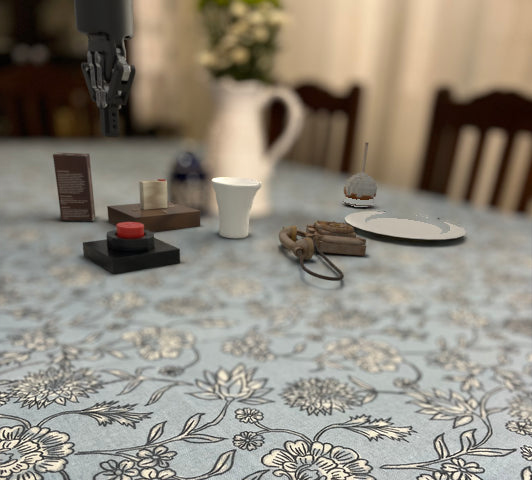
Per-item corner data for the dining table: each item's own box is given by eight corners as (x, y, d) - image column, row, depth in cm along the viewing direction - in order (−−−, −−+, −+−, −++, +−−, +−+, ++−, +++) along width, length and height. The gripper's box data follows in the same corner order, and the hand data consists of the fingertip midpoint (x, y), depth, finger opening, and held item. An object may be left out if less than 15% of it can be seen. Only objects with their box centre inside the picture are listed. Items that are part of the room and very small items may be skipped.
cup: (249, 243, 92) (251, 185, 88) (202, 236, 95) (202, 179, 90) (266, 233, 100) (269, 179, 95) (222, 226, 102) (223, 173, 98)
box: (95, 216, 103) (90, 152, 98) (93, 221, 99) (86, 155, 94) (64, 216, 102) (56, 151, 97) (59, 221, 98) (51, 153, 93)
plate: (439, 254, 93) (441, 245, 92) (321, 228, 106) (322, 220, 105) (481, 233, 111) (483, 225, 111) (376, 213, 124) (377, 205, 124)
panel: (136, 234, 93) (135, 216, 92) (108, 221, 100) (107, 205, 99) (200, 226, 102) (200, 209, 100) (170, 215, 109) (170, 199, 107)
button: (124, 241, 75) (124, 229, 75) (112, 235, 78) (111, 223, 77) (149, 237, 78) (148, 226, 77) (136, 232, 80) (135, 220, 80)
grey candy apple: (365, 203, 136) (374, 141, 129) (379, 209, 129) (389, 144, 123) (338, 202, 134) (345, 140, 127) (350, 209, 127) (359, 143, 120)
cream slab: (144, 209, 98) (142, 181, 95) (140, 208, 99) (139, 179, 96) (167, 207, 101) (166, 179, 98) (163, 206, 102) (162, 178, 99)
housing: (113, 274, 73) (111, 246, 71) (83, 256, 79) (81, 230, 78) (180, 262, 80) (179, 236, 78) (147, 247, 86) (146, 223, 84)
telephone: (293, 286, 72) (297, 256, 70) (271, 230, 101) (273, 208, 100) (397, 294, 74) (403, 265, 72) (345, 237, 103) (349, 215, 101)
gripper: (153, -4, 66) (155, 142, 74) (109, 3, 75) (115, 132, 83) (96, -16, 61) (105, 141, 69) (56, -7, 70) (68, 131, 78)
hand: (110, 136), depth 76 cm, fingers closed
